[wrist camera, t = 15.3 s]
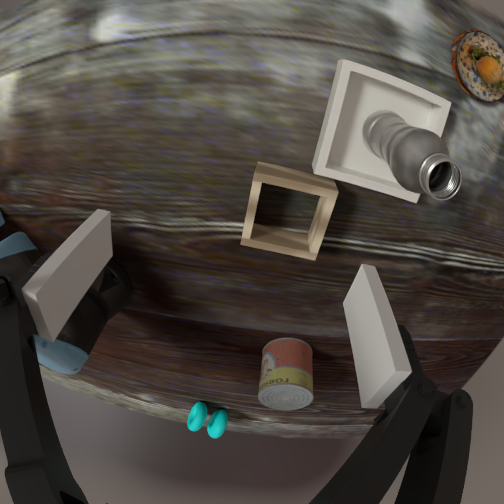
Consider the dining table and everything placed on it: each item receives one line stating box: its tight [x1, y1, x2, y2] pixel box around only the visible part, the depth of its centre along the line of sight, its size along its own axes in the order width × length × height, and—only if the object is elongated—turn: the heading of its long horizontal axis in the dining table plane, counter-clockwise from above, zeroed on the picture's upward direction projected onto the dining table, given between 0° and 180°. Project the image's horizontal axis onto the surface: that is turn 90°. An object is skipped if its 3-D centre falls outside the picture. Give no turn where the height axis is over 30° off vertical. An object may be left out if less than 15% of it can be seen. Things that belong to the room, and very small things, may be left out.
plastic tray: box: [312, 59, 451, 203], centre depth 36 cm, size 16×16×4 cm
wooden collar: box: [240, 162, 339, 260], centre depth 44 cm, size 11×11×5 cm
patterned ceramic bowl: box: [451, 29, 504, 102], centre depth 26 cm, size 12×12×8 cm
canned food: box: [258, 338, 314, 410], centre depth 61 cm, size 11×11×12 cm
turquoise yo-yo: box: [187, 402, 228, 438], centre depth 81 cm, size 10×10×10 cm
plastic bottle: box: [362, 110, 462, 201], centre depth 29 cm, size 6×7×20 cm
